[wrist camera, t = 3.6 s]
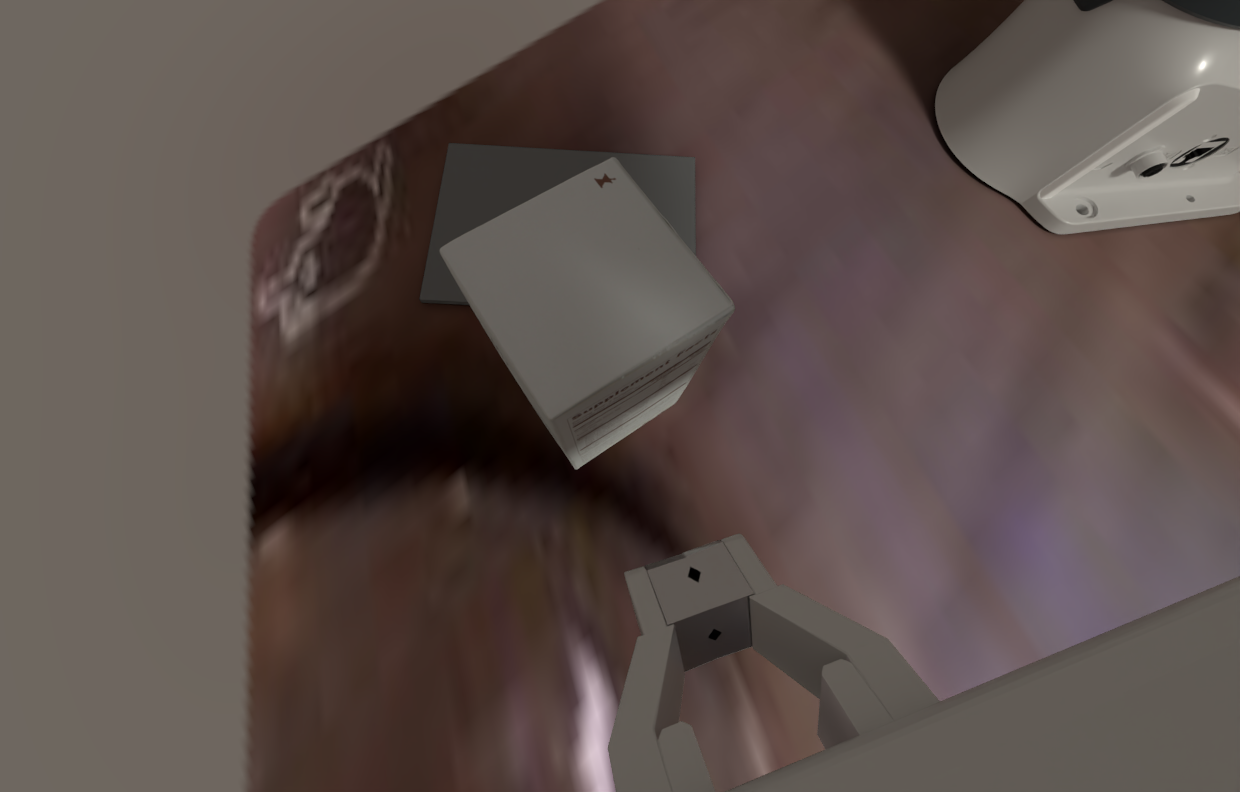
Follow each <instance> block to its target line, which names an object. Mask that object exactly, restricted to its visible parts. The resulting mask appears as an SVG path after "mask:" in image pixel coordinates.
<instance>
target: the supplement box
mask: <svg viewBox="0 0 1240 792" xmlns="http://www.w3.org/2000/svg"><path fill="white" fill-rule="evenodd" d="M440 254H441V256H442V258H443V260H444V262H445V263H446V265H447V267H448V269H449V270H450V272H451V274H452V276H453V277H454V279H455V281H456V283H457V284H458V286H459V288H460V290H461V291H462V293H463V295H464V296H465V298H466V300H467V302H468V303H469V305H470V307H471V308H472V310H473V312H474V313H475V315H476V317H477V318H478V320H479V322H480V323H481V325H482V327H483V328H484V330H485V332H486V333H487V335H488V337H489V338H490V340H491V341H492V343H493V345H494V346H495V348H496V349H497V351H498V353H499V354H500V356H501V358H502V359H503V361H504V362H505V364H506V366H507V367H508V369H509V370H510V372H511V373H512V375H513V377H514V378H515V380H516V381H517V383H518V385H519V386H520V388H521V389H522V391H523V392H524V394H525V395H526V397H527V398H528V400H529V402H530V403H531V405H532V406H533V408H534V409H535V411H536V412H537V414H538V415H539V417H540V418H541V420H542V421H543V423H544V424H545V426H546V427H547V429H548V430H549V431H550V433H551V434H552V436H553V437H554V439H555V440H556V442H557V443H558V444H559V446H560V447H561V449H562V450H563V452H564V453H565V455H566V456H567V458H568V459H569V461H570V462H571V464H572V466H573V467H574V468H575V469H579V468H580V467H581V466H583V465H584V464H585V463H587V462H588V461H590V460H591V459H593V458H594V457H596V456H597V455H599V454H600V453H602V452H603V451H605V450H606V449H608V448H609V447H611V446H612V445H614V444H615V443H617V442H618V441H620V440H621V439H623V438H624V437H626V436H627V435H629V434H630V433H632V432H633V431H635V430H636V429H638V428H639V427H641V426H642V425H644V424H645V423H647V422H648V421H650V420H651V419H653V418H654V417H656V416H657V415H659V414H660V413H662V412H663V411H665V410H666V409H668V408H669V407H671V406H672V405H674V404H675V403H676V402H677V400H678V399H679V397H680V396H681V394H682V392H683V391H684V390H685V388H686V386H687V385H688V383H689V382H690V380H691V378H692V377H693V375H694V373H695V371H696V370H697V368H698V367H699V365H700V363H701V362H702V360H703V358H704V357H705V355H706V353H707V352H708V350H709V348H710V347H711V345H712V343H713V341H714V340H715V338H716V337H717V335H718V333H719V332H720V330H721V329H722V327H723V326H724V324H725V323H726V321H727V320H728V319H729V318H730V316H731V315H732V314H733V312H734V310H735V306H734V304H733V302H732V300H731V299H730V297H729V296H728V295H727V294H726V293H725V292H724V290H723V289H722V288H721V286H720V285H719V284H718V283H717V282H716V280H715V279H714V278H713V277H712V276H711V275H710V273H709V272H708V271H707V270H706V268H705V267H704V266H703V265H702V263H701V262H700V261H699V260H698V259H697V257H696V256H695V255H694V254H693V252H692V251H691V250H690V249H689V248H688V246H687V245H686V244H685V243H684V241H683V240H682V239H681V238H680V236H679V235H678V234H677V233H676V231H675V230H674V228H673V227H672V226H671V225H670V223H669V222H668V221H667V220H666V219H665V218H664V217H663V216H662V214H661V213H660V212H659V211H658V210H657V208H656V207H655V206H654V205H653V203H652V202H651V201H650V200H649V199H648V197H647V196H646V195H645V194H644V192H643V191H642V190H641V189H640V188H639V186H638V185H637V184H636V183H635V181H634V180H633V179H632V178H631V176H630V175H629V174H628V173H627V172H626V170H625V169H624V168H623V167H622V165H621V164H620V162H619V161H618V160H617V159H616V158H614V157H611V158H610V159H608V160H606V161H604V162H602V163H600V164H598V165H596V166H594V167H592V168H590V169H588V170H586V171H584V172H582V173H580V174H578V175H576V176H574V177H572V178H570V179H568V180H566V181H565V182H563V183H561V184H559V185H557V186H555V187H553V188H551V189H549V190H547V191H545V192H544V193H542V194H540V195H538V196H536V197H534V198H532V199H530V200H529V201H527V202H525V203H523V204H521V205H519V206H517V207H515V208H513V209H511V210H509V211H507V212H505V213H503V214H502V215H500V216H498V217H496V218H494V219H492V220H490V221H488V222H486V223H485V224H483V225H481V226H479V227H477V228H475V229H473V230H471V231H469V232H467V233H465V234H463V235H461V236H460V237H458V238H456V239H454V240H452V241H451V242H449V243H448V244H446V245H444V246H443V247H441V248H440Z"/></svg>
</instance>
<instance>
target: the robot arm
mask: <svg viewBox="0 0 1240 792" xmlns="http://www.w3.org/2000/svg"><path fill="white" fill-rule="evenodd" d="M935 113H936V119H937V123H938V126H939V129H940V131H941V134H942V136H943V138H944V140H945V141H946V143H947V145H948V146H949V148H950V149H951V151H952V152H953V153H954V155H955V156H956V157H957V158H958V159H959V160H960V162H961V163H962V164H963V165H964V166H965V167H966V168H967V169H969V170H970V171H971V172H972V173H973V174H974V175H976V176H977V177H978V178H980V179H981V180H982V181H984V182H985V183H987V184H988V185H990V186H992V187H993V188H995V189H997V190H999V191H1000V192H1002V193H1004V194H1006V195H1008V196H1009V197H1011V198H1013V199H1014V200H1016V201H1017V202H1018V203H1020V204H1021V205H1022V206H1023V207H1024V208H1025V209H1026V210H1027V211H1028V212H1029V214H1030V215H1031V216H1032V217H1033V218H1034V219H1035V220H1036V221H1037V222H1039V223H1040V224H1041V225H1042V226H1043V227H1044V228H1046V229H1047V230H1049V231H1051V232H1053V233H1056V234H1071V233H1080V232H1088V231H1096V230H1105V229H1113V228H1121V227H1130V226H1138V225H1146V224H1155V223H1163V222H1172V221H1180V220H1188V219H1197V218H1205V217H1213V216H1221V215H1229V214H1234V213H1238V212H1240V0H1024V1H1023V2H1022V3H1021V4H1020V5H1019V6H1018V8H1017V9H1016V10H1015V11H1014V12H1013V13H1012V14H1011V15H1010V16H1009V17H1008V18H1007V19H1006V20H1005V21H1004V22H1003V23H1002V24H1001V25H1000V26H999V27H998V28H997V29H996V30H995V31H993V32H992V33H991V34H990V35H989V36H988V37H987V38H986V39H985V40H984V41H983V42H982V43H981V44H980V45H979V46H978V47H976V48H975V49H974V50H973V51H972V52H971V53H970V54H969V55H967V56H966V57H965V58H964V59H963V60H962V61H960V62H959V63H958V64H957V65H956V66H954V67H953V68H952V69H951V70H950V71H949V72H948V73H947V74H946V75H945V76H944V78H943V79H942V81H941V83H940V85H939V87H938V90H937V94H936V99H935ZM624 575H625V579H626V582H627V586H628V590H629V593H630V597H631V601H632V604H633V608H634V612H635V615H636V619H637V622H638V626H639V629H640V632H641V635H642V636H639V637H637V641H636V645H635V649H634V652H633V656H632V660H631V663H630V667H629V671H628V675H627V678H626V682H625V686H624V689H623V693H622V697H621V701H620V704H619V708H618V712H617V715H616V719H615V723H614V727H613V730H612V734H611V738H610V742H609V745H608V751H609V757H610V762H611V767H612V773H613V778H614V783H615V788H616V792H715V790H714V787H713V784H712V781H711V779H710V776H709V773H708V770H707V768H706V765H705V762H704V759H703V756H702V754H701V751H700V748H699V745H698V743H697V740H696V737H695V734H694V732H693V729H692V726H691V725H689V724H687V723H684V722H682V721H681V722H679V717H680V709H681V702H682V694H683V686H684V679H685V672H686V671H688V670H691V669H693V668H696V667H698V666H700V665H703V664H705V663H708V662H710V661H713V660H715V659H717V658H720V657H723V656H726V655H729V654H732V653H735V652H738V651H741V650H743V649H746V648H749V647H752V646H753V649H754V650H755V651H757V652H758V653H759V654H761V655H762V656H763V657H765V658H766V659H767V660H769V661H770V662H771V663H773V664H774V665H775V666H777V667H778V668H779V669H780V670H782V671H783V672H784V673H786V674H787V675H788V676H790V677H791V678H792V679H794V680H795V681H796V682H798V683H799V684H800V685H802V686H803V687H804V688H806V689H807V690H808V691H809V692H811V693H812V694H813V695H815V696H816V697H817V698H819V699H820V706H819V720H818V734H817V735H818V736H819V738H820V740H821V742H822V744H823V745H824V747H825V749H826V750H823V751H821V752H818V753H816V754H814V755H811V756H809V757H807V758H804V759H802V760H799V761H797V762H795V763H792V764H790V765H787V766H785V767H783V768H780V769H778V770H775V771H773V772H771V773H768V774H766V775H764V776H761V777H759V778H756V779H754V780H752V781H749V782H747V783H744V784H742V785H740V786H737V787H735V788H732V789H730V790H728V791H725V792H1240V576H1239V577H1237V578H1234V579H1232V580H1229V581H1227V582H1225V583H1222V584H1220V585H1217V586H1215V587H1213V588H1210V589H1208V590H1206V591H1203V592H1201V593H1198V594H1196V595H1194V596H1191V597H1189V598H1186V599H1184V600H1182V601H1179V602H1177V603H1174V604H1172V605H1170V606H1167V607H1165V608H1163V609H1160V610H1158V611H1155V612H1153V613H1151V614H1148V615H1146V616H1143V617H1141V618H1139V619H1136V620H1134V621H1131V622H1129V623H1127V624H1124V625H1122V626H1120V627H1117V628H1115V629H1112V630H1110V631H1108V632H1105V633H1103V634H1100V635H1098V636H1096V637H1093V638H1091V639H1088V640H1086V641H1084V642H1081V643H1079V644H1077V645H1074V646H1072V647H1069V648H1067V649H1065V650H1062V651H1060V652H1057V653H1055V654H1053V655H1050V656H1048V657H1045V658H1043V659H1041V660H1038V661H1036V662H1033V663H1031V664H1029V665H1026V666H1024V667H1022V668H1019V669H1017V670H1014V671H1012V672H1010V673H1007V674H1005V675H1002V676H1000V677H998V678H995V679H993V680H990V681H988V682H986V683H983V684H981V685H979V686H976V687H974V688H971V689H969V690H967V691H964V692H962V693H959V694H957V695H955V696H952V697H950V698H947V699H945V700H943V701H939V700H938V699H937V697H936V696H935V695H934V694H933V693H932V691H931V690H930V689H929V688H928V687H927V685H926V684H925V683H924V682H923V681H922V679H921V678H920V677H919V676H918V675H917V673H916V672H915V671H914V670H913V669H912V667H911V666H910V665H909V664H908V663H907V661H906V660H905V659H904V658H903V657H902V655H901V654H900V653H899V652H898V651H897V649H896V648H895V647H894V646H893V645H892V643H891V642H890V641H889V640H888V639H887V638H885V637H883V636H881V635H879V634H877V633H875V632H874V631H872V630H870V629H868V628H866V627H864V626H862V625H860V624H858V623H856V622H854V621H852V620H851V619H849V618H847V617H845V616H843V615H841V614H839V613H837V612H835V611H833V610H831V609H829V608H828V607H826V606H824V605H822V604H820V603H818V602H816V601H814V600H812V599H810V598H808V597H806V596H805V595H803V594H801V593H799V592H797V591H795V590H793V589H791V588H789V587H787V586H785V585H779V586H777V585H776V584H775V582H774V581H773V579H772V578H771V576H770V575H769V573H768V572H767V570H766V569H765V567H764V566H763V564H762V563H761V562H760V560H759V559H758V557H757V556H756V554H755V553H754V551H753V550H752V548H751V547H750V545H749V544H748V542H747V541H746V539H745V538H744V536H742V535H741V534H736V535H733V536H730V537H727V538H725V539H722V540H717V541H715V542H712V543H709V544H706V545H703V546H701V547H698V548H695V549H692V550H690V551H687V552H684V553H682V554H681V555H677V556H674V557H671V558H668V559H665V560H661V561H658V562H655V563H652V564H649V565H645V567H644V566H643V567H640V568H637V569H634V570H630V571H627V572H624Z"/></svg>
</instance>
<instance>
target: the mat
mask: <svg viewBox="0 0 1240 792" xmlns="http://www.w3.org/2000/svg"><path fill="white" fill-rule="evenodd" d="M611 157H614V158H616V159H617V160H618V161H619V162H620V164H621V165H622V167H623V168H624V169H625V170H626V172H627V173H628V174H629V175H630V176H631V178H632V179H633V180H634V181H635V183H636V184H637V185H638V186H639V188H640V189H641V190H642V191H643V192H644V194H645V195H646V196H647V197H648V199H649V200H650V201H651V202H652V203H653V205H654V206H655V207H656V208H657V210H658V211H659V212H660V213H661V214H662V216H663V217H664V218H665V219H666V220H667V221H668V222H669V223H670V225H671V226H672V227H673V228H674V230H675V231H676V233H677V234H678V235H679V236H680V238H681V239H682V240H683V241H684V243H685V244H686V245H687V246H688V248H689V249H690V250H691V251H692V252H693V254H694V255H695V256H696V241H695V157H678V156H661V155H645V154H628V153H611V152H594V151H577V150H560V149H543V148H526V147H509V146H492V145H475V144H458V143H449V145H448V150H447V156H446V161H445V166H444V172H443V177H442V182H441V187H440V193H439V198H438V203H437V209H436V214H435V219H434V225H433V230H432V235H431V240H430V246H429V251H428V256H427V262H426V267H425V272H424V277H423V283H422V288H421V293H420V299H419V300H420V301H421V302H422V303H440V304H459V305H469V303H468V302H467V300H466V298H465V296H464V295H463V293H462V291H461V290H460V288H459V286H458V284H457V283H456V281H455V279H454V277H453V276H452V274H451V272H450V270H449V269H448V267H447V265H446V263H445V262H444V260H443V258H442V256H441V254H440V248H441V247H443V246H444V245H446V244H448V243H449V242H451V241H452V240H454V239H456V238H458V237H460V236H461V235H463V234H465V233H467V232H469V231H471V230H473V229H475V228H477V227H479V226H481V225H483V224H485V223H486V222H488V221H490V220H492V219H494V218H496V217H498V216H500V215H502V214H503V213H505V212H507V211H509V210H511V209H513V208H515V207H517V206H519V205H521V204H523V203H525V202H527V201H529V200H530V199H532V198H534V197H536V196H538V195H540V194H542V193H544V192H545V191H547V190H549V189H551V188H553V187H555V186H557V185H559V184H561V183H563V182H565V181H566V180H568V179H570V178H572V177H574V176H576V175H578V174H580V173H582V172H584V171H586V170H588V169H590V168H592V167H594V166H596V165H598V164H600V163H602V162H604V161H606V160H608V159H610V158H611Z"/></svg>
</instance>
